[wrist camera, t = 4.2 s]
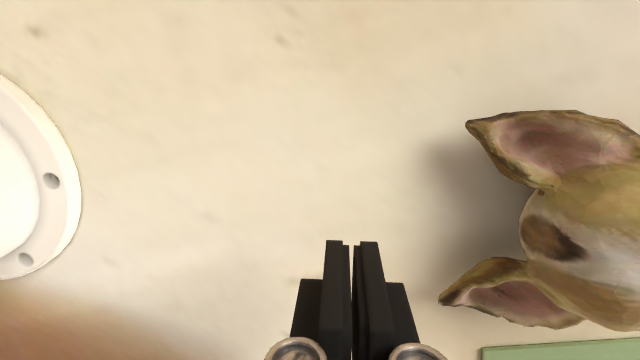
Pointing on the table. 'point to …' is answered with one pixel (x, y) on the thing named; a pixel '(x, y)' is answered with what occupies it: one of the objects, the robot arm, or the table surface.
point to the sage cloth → (568, 351)
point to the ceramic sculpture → (563, 223)
